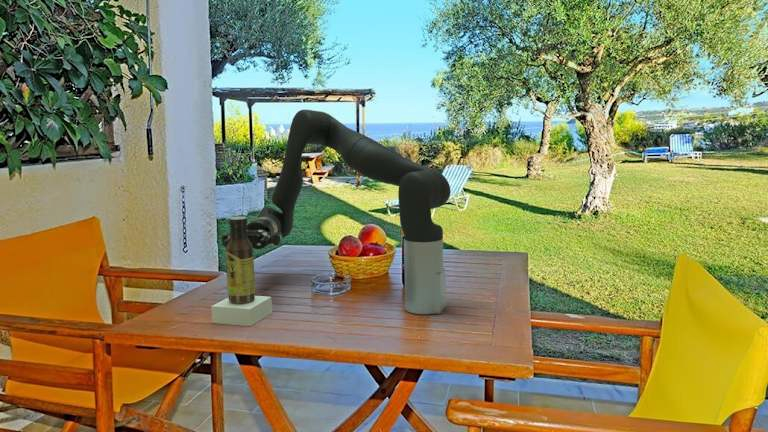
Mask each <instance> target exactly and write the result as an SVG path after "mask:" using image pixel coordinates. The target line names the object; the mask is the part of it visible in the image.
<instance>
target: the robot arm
mask: <svg viewBox="0 0 768 432" xmlns="http://www.w3.org/2000/svg"><path fill="white" fill-rule="evenodd" d="M307 145H316V146H317V145H318V146H324V147H327V148H330V149H332V150H333V151H335V152H337V153H339V155H340V156H341V159H342V160H343V162H344V163H345V164H346V165H347V167H349V168H350V169H352V170H353V171H354V172H357V173H358V174H360V175H361V176H363V177H366V178H368V179H371V180H374V181H377V182H382V183H385V184H388V185H389V184H391V185H394V186H396V187H398V195H397V196H398V208H399V209H398V211H399V224H400V227H401V230H402V232H403V255H404V256H403V257H404V258H403V259H404V263H403V264H404V265H403V266H404V298H405V299H404V303H405V305H404V307H405V308H404V309H405V311H406V312H408V313H411V314H415V315H431V314H432V315H433V314H442V313H443V311H444V310H445V308H446V305H447V303H446V301H447V300H446V299H447V297H446V292H447V291H446V268H444V230H443V227H442V226H441V225H439V224H437V223H434V221H433V219H432V210H433V209H437V208H439V207H442V206H443V205H444V204H446V203H447V202H448V200H449V199H450V196H451V186H450V184H449V181H448V179H447V178H446V176H445V175H444V174H442V173H441V171H437V170H436V169H432V168H431V167H428V166H426V165H425V166H424V165H422V164H420V163H418V162H414V161H412V160H410V159H409V158H407V157H404V156H403V155H401V154H399V153H398V152H396V151H394V150H393V149H391V148H389V147H387V146H385V145H384V144H382V143H380V142H378V141H377V140H374V139H373V138H371V137H369V136H367V135H366V134H362V133H361V132H358V131H356V130H353V129H352V128H349V127H347V125H344V124H343V123H342V122H340V121H339V120H338V119H336V118H335V117H333V116H332V115H331V114H329V113H327V112H324V111H321V110H320V111H319V110H312V109H301V110H298V111H297V112H296V113H295V115H294V117H293V118H292V121H291V124H290V128H289V133H288V137H287V143H286V147H285V153H284V158H283V163H282V167H281V171H280V174H279V177H278V180H277V182H276V185H275V188H274V190H273V193H272V195H271V202H272V203H273V205H275V206H276V207H277V208H278V209H279V210H280V211H279V210H278V209H277V210H276V209H275V208H272V207H268V206H267V207H263V208H262V209H261V210H260V211H259V213H258V215H257V217H256V218H255V219H254V220H252V221H250V222H249V223H247V225H246V227H247V238H248V239H249V240H250V242H251V244H252V246H253V249H254V250H261V249H265V248H266V247H270V246H272V244H273V246H279V245H280V244H281V242H282V240H283V239H284V238H286V237H287V236H289V235H290V234H291V232H292V230H293V225H294V213H295V207H296V203H297V201H298V198H299V196H300V192H301V191H302V187H303V182H304V174H303V168H302V157H303V153H304V151H305V148H307V147H306V146H307ZM230 238H231V237H230V231H228V232H226V233H224V234H223V235H221V246H222V247H224V248H226V246H227V244H228V242H229V240H230Z"/></svg>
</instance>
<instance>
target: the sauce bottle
mask: <svg viewBox="0 0 768 432" xmlns="http://www.w3.org/2000/svg"><path fill="white" fill-rule="evenodd" d="M228 224H229V228H230V231H229V232H230V237H231V238H230V240H229V242H228V244H227V246H226V247H225V266H226V284H227V285H226V286H227V295H228V297H229V301H230V302H232V303H235V304H245V303H249V302H252V301H254V299H255V296H256V294H255V293H256V284H255V283H256V281H255V261H254V260H255V257H254V250H253V246H252V244H251V242H250V240H249V239H248V238H247V227H246V225H247V224H248V217H246V216H242V215H241V216H239V215H238V216H232V217H231V216H230V217H229V218H228Z"/></svg>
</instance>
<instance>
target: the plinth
mask: <svg viewBox="0 0 768 432" xmlns="http://www.w3.org/2000/svg"><path fill="white" fill-rule="evenodd" d="M272 300H273V299H272V296H267V295H264V296H263V295H255V299H254V301H252V302H249V303H245V304H235V303H232V302H230V301H229V296H228V297H227V298H224V299H223V300H221V301H219V302H216V303H215V304H213V305H211V306H210V308H211V321H212V322H211V323H212V324H218V325H219V324H220V325H230V326H231V325H233V326H243V327H252V326H254V325H255V324H257V323H258V322H260V321H261V320H263V319H265V318H267V317H268V316H269V315H271V314H273V304H272V302H273V301H272Z"/></svg>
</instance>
